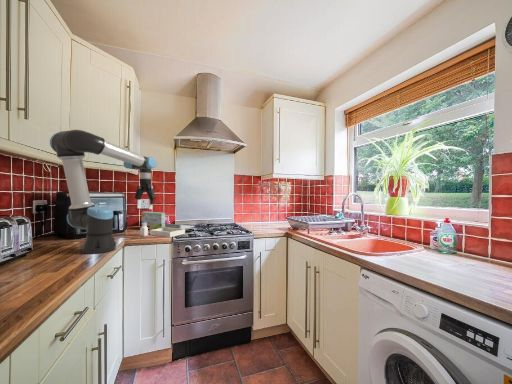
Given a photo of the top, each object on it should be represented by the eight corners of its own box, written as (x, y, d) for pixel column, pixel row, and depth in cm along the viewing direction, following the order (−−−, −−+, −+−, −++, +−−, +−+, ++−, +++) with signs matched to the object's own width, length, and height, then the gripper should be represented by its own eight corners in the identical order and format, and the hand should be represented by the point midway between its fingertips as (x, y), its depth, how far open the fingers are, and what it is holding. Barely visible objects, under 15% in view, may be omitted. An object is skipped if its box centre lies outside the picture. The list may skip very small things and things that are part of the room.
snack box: (140, 229, 192) (141, 211, 192) (145, 228, 198) (146, 211, 198) (161, 230, 186) (161, 212, 186) (165, 229, 191) (166, 212, 192)
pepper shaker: (144, 236, 161) (144, 223, 161) (139, 236, 162) (140, 223, 162) (148, 235, 165) (148, 222, 165) (143, 235, 166) (144, 222, 166)
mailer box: (170, 237, 160) (170, 232, 160) (149, 234, 168) (149, 230, 168) (184, 233, 175) (185, 229, 175) (165, 231, 183) (165, 227, 183)
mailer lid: (181, 229, 172) (181, 225, 172) (162, 227, 179) (162, 223, 179) (194, 226, 186) (195, 223, 186) (176, 225, 194) (176, 221, 194)
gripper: (161, 179, 163) (160, 209, 162) (138, 179, 171) (137, 207, 171) (153, 178, 156) (152, 209, 155) (129, 178, 165) (128, 208, 164)
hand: (144, 208), depth 163 cm, fingers open, 11 cm apart
